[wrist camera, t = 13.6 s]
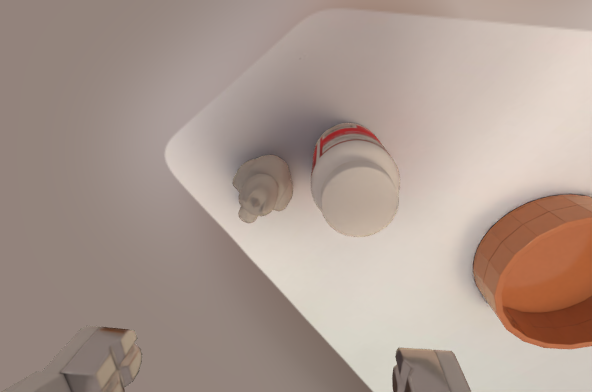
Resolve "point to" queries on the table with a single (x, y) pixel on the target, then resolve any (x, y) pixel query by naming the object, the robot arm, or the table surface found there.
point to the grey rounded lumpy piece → (263, 187)
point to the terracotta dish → (541, 271)
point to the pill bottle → (354, 180)
